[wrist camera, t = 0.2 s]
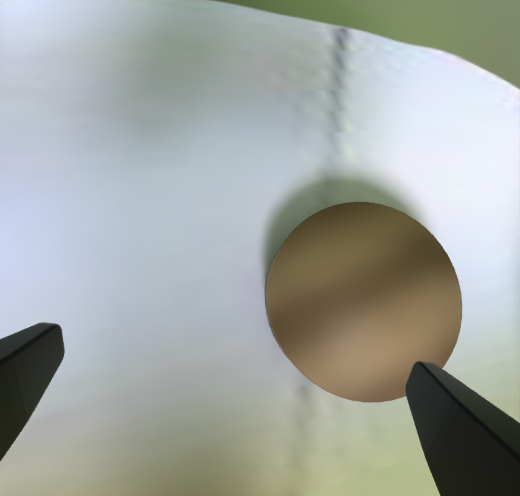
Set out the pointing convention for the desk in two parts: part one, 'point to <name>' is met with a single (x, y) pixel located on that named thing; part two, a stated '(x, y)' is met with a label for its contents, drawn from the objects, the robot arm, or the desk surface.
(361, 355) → the walnut stand
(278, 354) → the desk surface
